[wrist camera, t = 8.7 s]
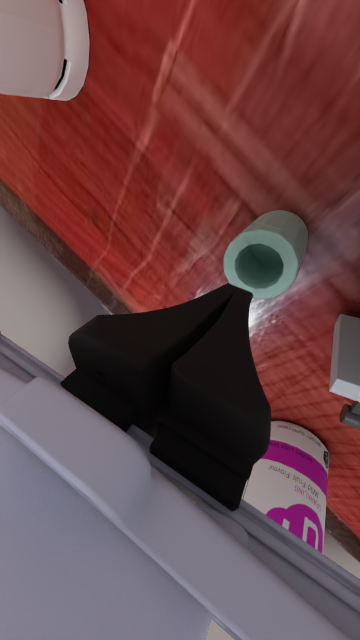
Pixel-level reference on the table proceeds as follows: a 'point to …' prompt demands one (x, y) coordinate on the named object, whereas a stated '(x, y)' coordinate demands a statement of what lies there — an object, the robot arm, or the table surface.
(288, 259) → the jar
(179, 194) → the table surface
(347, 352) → the drawer
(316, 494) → the supplement can
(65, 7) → the bottle
